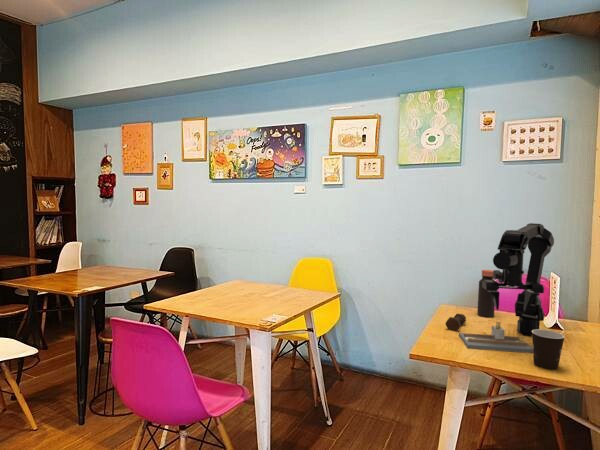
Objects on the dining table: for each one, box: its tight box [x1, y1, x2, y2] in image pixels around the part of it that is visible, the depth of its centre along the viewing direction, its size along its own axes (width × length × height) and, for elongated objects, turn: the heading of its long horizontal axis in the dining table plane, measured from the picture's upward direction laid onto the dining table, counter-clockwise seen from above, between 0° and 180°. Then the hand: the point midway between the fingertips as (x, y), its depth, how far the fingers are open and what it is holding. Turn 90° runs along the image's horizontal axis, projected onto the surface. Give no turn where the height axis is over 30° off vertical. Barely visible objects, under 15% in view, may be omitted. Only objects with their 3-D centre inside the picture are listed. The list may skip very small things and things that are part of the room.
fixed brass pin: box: [518, 336, 526, 342], centre depth 142 cm, size 2×2×2 cm
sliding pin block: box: [490, 321, 506, 341], centre depth 143 cm, size 3×4×6 cm
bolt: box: [445, 313, 467, 332], centre depth 163 cm, size 6×5×15 cm
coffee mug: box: [531, 328, 565, 371], centre depth 126 cm, size 12×9×10 cm
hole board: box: [458, 332, 533, 354], centre depth 144 cm, size 21×13×2 cm, turn 81°
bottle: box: [476, 269, 496, 318], centre depth 179 cm, size 7×7×20 cm
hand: (510, 310), depth 143 cm, fingers open, 9 cm apart
